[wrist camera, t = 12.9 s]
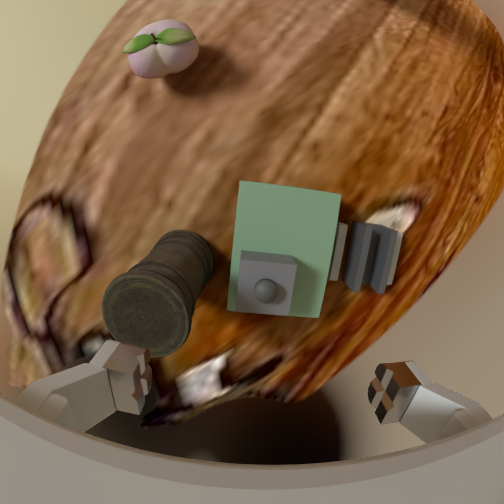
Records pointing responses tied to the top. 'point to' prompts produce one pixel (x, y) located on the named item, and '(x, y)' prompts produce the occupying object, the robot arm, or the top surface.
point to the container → (159, 294)
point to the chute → (369, 256)
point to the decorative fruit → (162, 49)
